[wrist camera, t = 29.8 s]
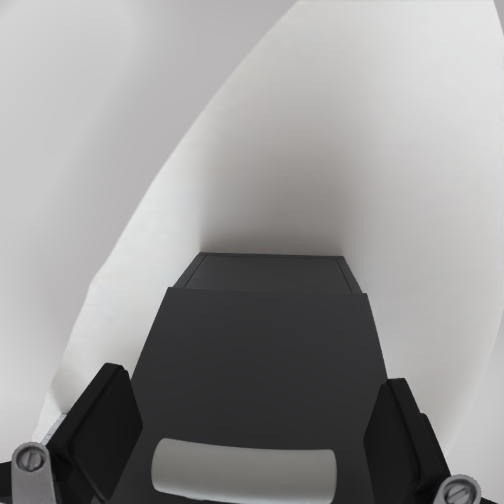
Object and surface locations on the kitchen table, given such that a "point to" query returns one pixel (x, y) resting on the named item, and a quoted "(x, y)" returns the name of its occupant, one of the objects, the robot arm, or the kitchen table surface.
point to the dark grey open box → (269, 273)
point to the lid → (254, 400)
